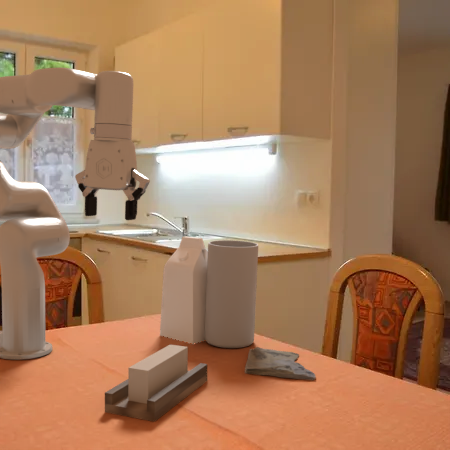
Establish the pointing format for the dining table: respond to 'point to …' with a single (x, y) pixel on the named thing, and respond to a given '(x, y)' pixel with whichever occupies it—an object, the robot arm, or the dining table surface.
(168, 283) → the milk
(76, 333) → the dining table surface
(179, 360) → the beige rectangular block
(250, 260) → the cylinder vase
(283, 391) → the dining table surface
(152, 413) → the brown long channel piece
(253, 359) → the fossil rock
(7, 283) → the robot arm
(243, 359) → the dining table surface
